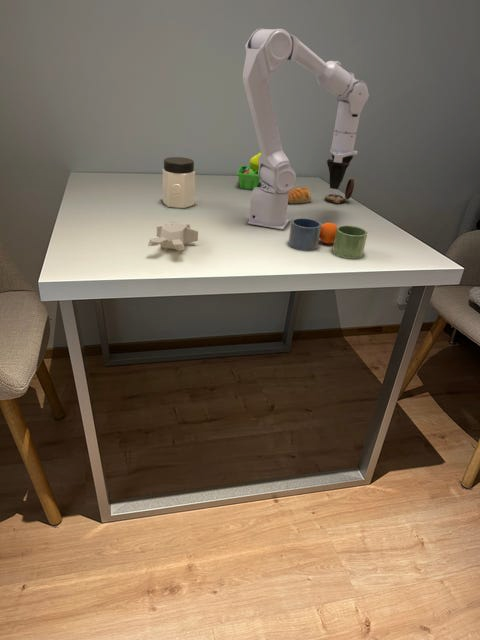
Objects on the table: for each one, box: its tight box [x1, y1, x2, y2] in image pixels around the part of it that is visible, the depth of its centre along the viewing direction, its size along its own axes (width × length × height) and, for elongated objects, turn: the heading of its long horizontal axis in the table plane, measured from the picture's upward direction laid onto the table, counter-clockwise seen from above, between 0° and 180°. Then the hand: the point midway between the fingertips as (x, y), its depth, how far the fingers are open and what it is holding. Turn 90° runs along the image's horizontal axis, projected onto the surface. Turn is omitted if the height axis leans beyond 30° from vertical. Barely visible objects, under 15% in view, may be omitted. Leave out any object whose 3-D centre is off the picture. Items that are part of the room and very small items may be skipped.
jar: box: [162, 156, 196, 209], centre depth 129 cm, size 9×8×12 cm
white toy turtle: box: [147, 221, 199, 252], centre depth 104 cm, size 10×5×15 cm
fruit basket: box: [236, 151, 261, 190], centre depth 152 cm, size 11×9×11 cm
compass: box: [324, 177, 355, 204], centre depth 144 cm, size 8×8×7 cm
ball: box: [319, 222, 338, 245], centre depth 113 cm, size 5×5×5 cm
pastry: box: [288, 187, 312, 205], centre depth 142 cm, size 9×7×4 cm
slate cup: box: [288, 217, 323, 252], centre depth 111 cm, size 7×7×6 cm
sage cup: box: [332, 224, 368, 260], centre depth 108 cm, size 7×7×6 cm
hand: (335, 185), depth 126 cm, fingers open, 7 cm apart
